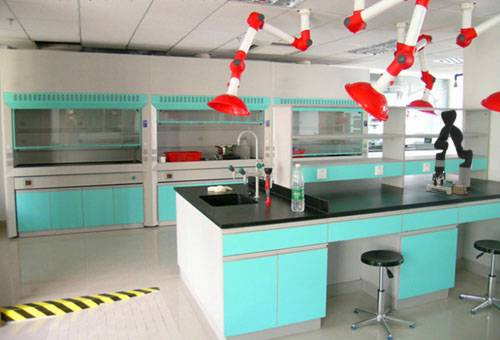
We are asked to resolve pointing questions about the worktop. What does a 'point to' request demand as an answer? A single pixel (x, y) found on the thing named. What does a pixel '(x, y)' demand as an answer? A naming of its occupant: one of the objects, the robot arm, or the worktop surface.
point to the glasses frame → (438, 188)
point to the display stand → (452, 187)
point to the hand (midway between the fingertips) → (438, 185)
